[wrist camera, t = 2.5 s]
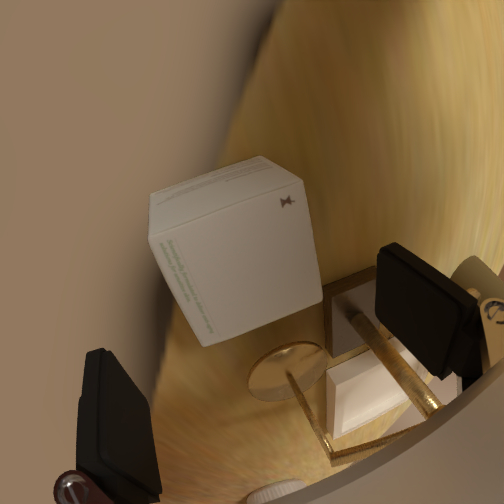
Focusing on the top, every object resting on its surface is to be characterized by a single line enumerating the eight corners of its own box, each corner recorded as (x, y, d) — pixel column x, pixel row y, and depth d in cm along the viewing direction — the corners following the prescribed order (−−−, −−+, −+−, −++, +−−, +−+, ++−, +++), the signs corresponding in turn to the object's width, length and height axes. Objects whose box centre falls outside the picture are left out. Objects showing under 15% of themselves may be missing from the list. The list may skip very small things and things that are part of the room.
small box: (145, 192, 13) (142, 237, 9) (262, 151, 14) (310, 176, 10) (187, 288, 16) (203, 354, 12) (285, 250, 17) (328, 302, 13)
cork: (463, 306, 27) (528, 367, 18) (433, 310, 25) (509, 384, 16) (486, 256, 25) (561, 314, 16) (460, 254, 23) (550, 323, 14)
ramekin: (264, 502, 42) (274, 524, 37) (226, 499, 36) (235, 526, 31) (317, 477, 41) (329, 500, 36) (286, 472, 35) (299, 502, 30)
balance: (224, 322, 18) (305, 520, 8) (437, 237, 21) (556, 329, 10) (244, 379, 21) (309, 531, 11) (427, 297, 24) (520, 387, 13)
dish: (326, 370, 24) (336, 385, 22) (433, 314, 26) (444, 325, 24) (326, 428, 30) (333, 440, 28) (411, 382, 32) (419, 392, 30)
